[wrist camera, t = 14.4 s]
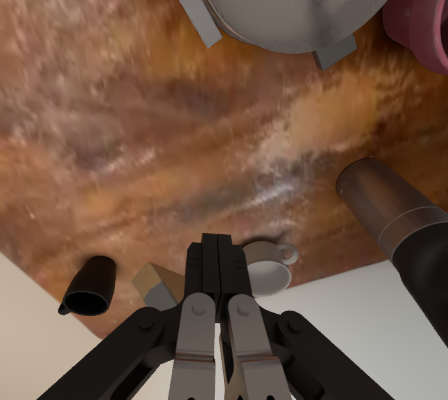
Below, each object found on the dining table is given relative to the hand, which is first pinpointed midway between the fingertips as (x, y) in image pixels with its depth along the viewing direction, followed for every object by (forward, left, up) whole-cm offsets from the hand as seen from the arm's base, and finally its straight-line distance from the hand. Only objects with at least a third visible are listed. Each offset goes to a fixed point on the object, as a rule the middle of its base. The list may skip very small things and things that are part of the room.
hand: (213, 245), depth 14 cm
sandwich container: (+4, +43, -29) cm, 52 cm away
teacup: (-16, +29, -29) cm, 44 cm away
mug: (+20, +38, -29) cm, 52 cm away
